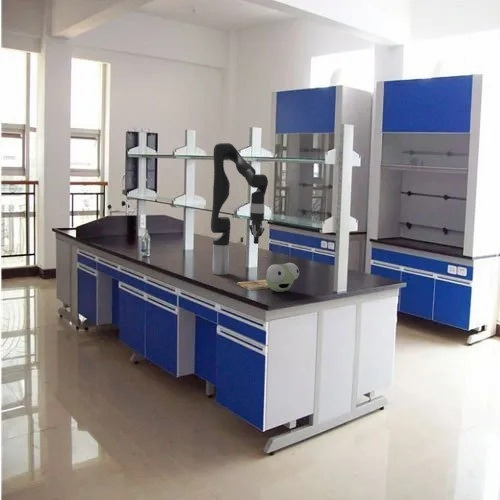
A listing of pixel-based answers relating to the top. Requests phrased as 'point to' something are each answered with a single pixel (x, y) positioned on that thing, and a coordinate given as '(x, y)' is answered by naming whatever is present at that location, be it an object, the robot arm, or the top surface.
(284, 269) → the toy
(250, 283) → the plank near
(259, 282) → the plank far
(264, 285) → the laid strip
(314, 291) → the top surface
